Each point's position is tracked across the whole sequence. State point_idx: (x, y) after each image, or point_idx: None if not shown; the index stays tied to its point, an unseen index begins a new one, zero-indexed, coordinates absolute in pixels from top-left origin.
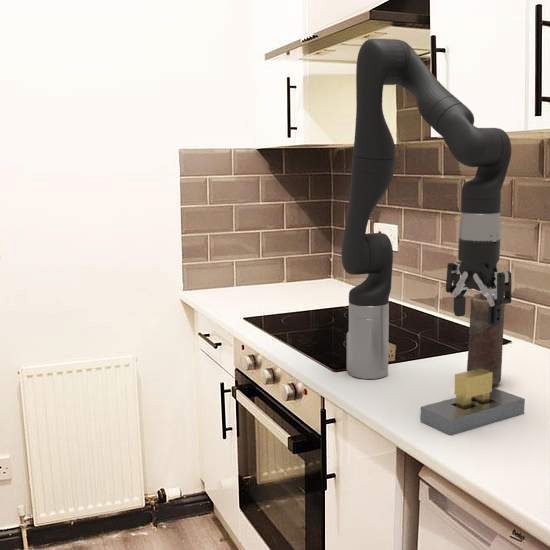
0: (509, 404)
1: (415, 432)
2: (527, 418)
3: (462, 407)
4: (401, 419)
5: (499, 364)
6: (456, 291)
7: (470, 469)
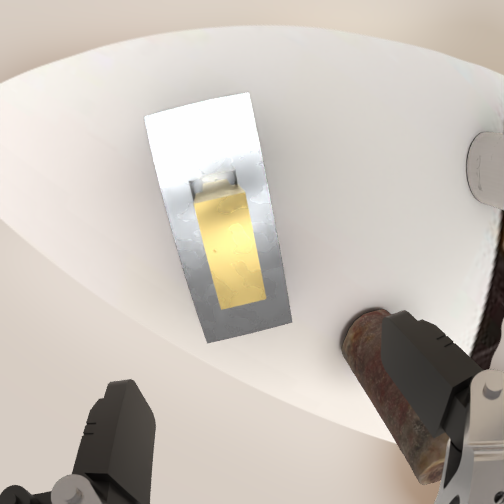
0: (193, 301)
1: (193, 60)
2: (181, 317)
3: (206, 187)
4: (271, 68)
5: (357, 377)
6: (493, 417)
7: (22, 94)
